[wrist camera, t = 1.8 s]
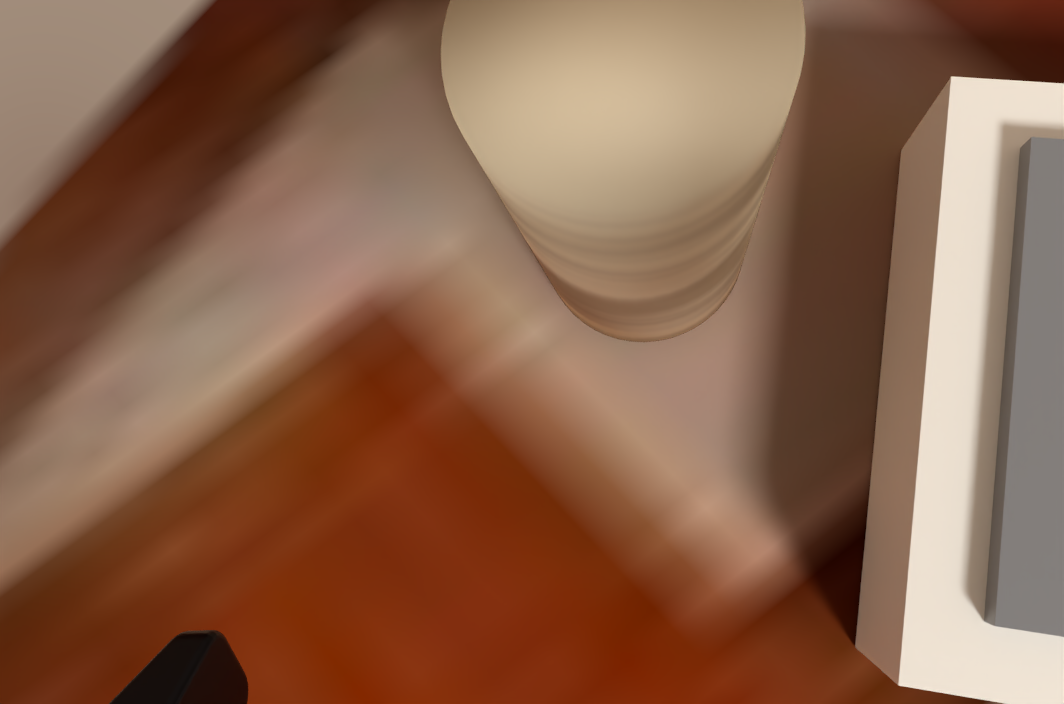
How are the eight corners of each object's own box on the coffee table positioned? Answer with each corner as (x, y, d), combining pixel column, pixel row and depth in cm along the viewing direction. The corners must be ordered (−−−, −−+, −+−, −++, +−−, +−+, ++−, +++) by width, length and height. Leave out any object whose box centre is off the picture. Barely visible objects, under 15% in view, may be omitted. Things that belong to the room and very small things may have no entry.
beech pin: (732, 352, 23) (785, 233, 12) (533, 330, 24) (415, 199, 13) (754, 158, 23) (823, -122, 13) (559, 143, 24) (468, -133, 13)
